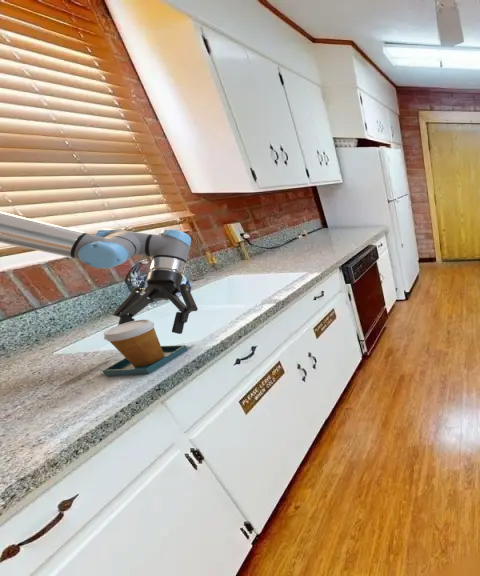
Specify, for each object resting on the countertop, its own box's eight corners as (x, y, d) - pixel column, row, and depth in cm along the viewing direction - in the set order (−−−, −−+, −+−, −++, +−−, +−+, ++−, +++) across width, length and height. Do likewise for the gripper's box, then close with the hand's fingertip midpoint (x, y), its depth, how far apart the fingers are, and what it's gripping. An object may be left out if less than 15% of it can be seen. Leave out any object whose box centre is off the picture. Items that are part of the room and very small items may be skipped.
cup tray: (105, 376, 84) (101, 370, 83) (149, 351, 95) (146, 346, 94) (149, 374, 85) (146, 369, 84) (188, 350, 96) (185, 345, 95)
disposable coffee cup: (138, 356, 92) (117, 323, 87) (178, 348, 95) (159, 315, 91) (116, 374, 84) (90, 338, 79) (160, 364, 87) (138, 330, 82)
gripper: (219, 275, 104) (207, 333, 97) (131, 280, 99) (112, 343, 91) (202, 265, 97) (188, 327, 90) (107, 271, 92) (84, 338, 85)
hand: (150, 335), depth 91 cm, fingers open, 13 cm apart
